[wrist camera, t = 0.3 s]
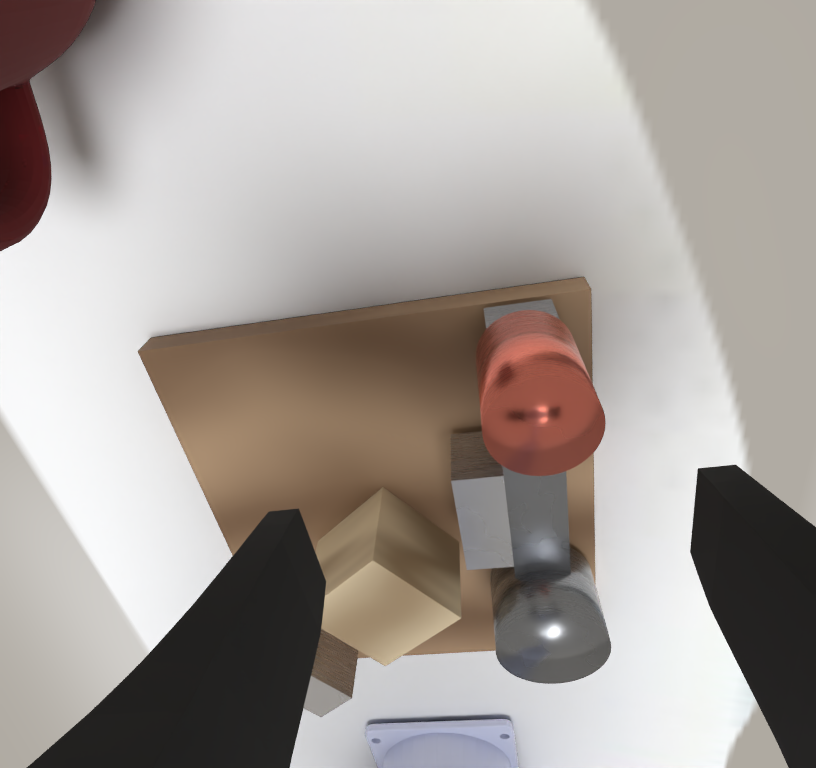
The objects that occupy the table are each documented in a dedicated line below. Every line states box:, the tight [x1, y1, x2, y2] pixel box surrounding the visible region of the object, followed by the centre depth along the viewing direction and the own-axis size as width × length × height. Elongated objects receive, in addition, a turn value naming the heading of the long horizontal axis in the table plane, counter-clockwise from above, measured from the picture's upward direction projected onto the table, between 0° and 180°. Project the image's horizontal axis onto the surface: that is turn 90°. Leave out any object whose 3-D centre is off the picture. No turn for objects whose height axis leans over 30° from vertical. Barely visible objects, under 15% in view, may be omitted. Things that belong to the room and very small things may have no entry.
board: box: [138, 277, 595, 658], centre depth 23 cm, size 17×15×1 cm
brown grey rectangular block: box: [303, 629, 359, 717], centre depth 24 cm, size 5×2×4 cm, turn 48°
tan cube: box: [315, 488, 461, 666], centre depth 22 cm, size 4×4×4 cm
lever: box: [451, 299, 611, 684], centre depth 19 cm, size 14×5×5 cm, turn 10°
